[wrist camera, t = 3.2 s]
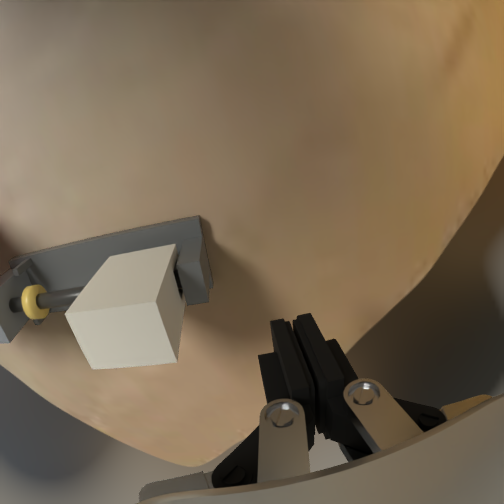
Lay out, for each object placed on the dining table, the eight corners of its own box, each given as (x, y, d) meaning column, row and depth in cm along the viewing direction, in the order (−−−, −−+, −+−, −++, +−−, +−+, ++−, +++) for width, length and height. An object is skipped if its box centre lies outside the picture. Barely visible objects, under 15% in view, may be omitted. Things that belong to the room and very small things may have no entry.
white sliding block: (124, 300, 21) (92, 369, 14) (109, 256, 19) (64, 314, 12) (187, 290, 21) (177, 362, 14) (175, 243, 20) (155, 301, 13)
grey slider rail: (31, 310, 23) (-3, 351, 16) (10, 258, 21) (-32, 291, 14) (213, 282, 24) (213, 332, 18) (199, 215, 22) (192, 246, 16)
